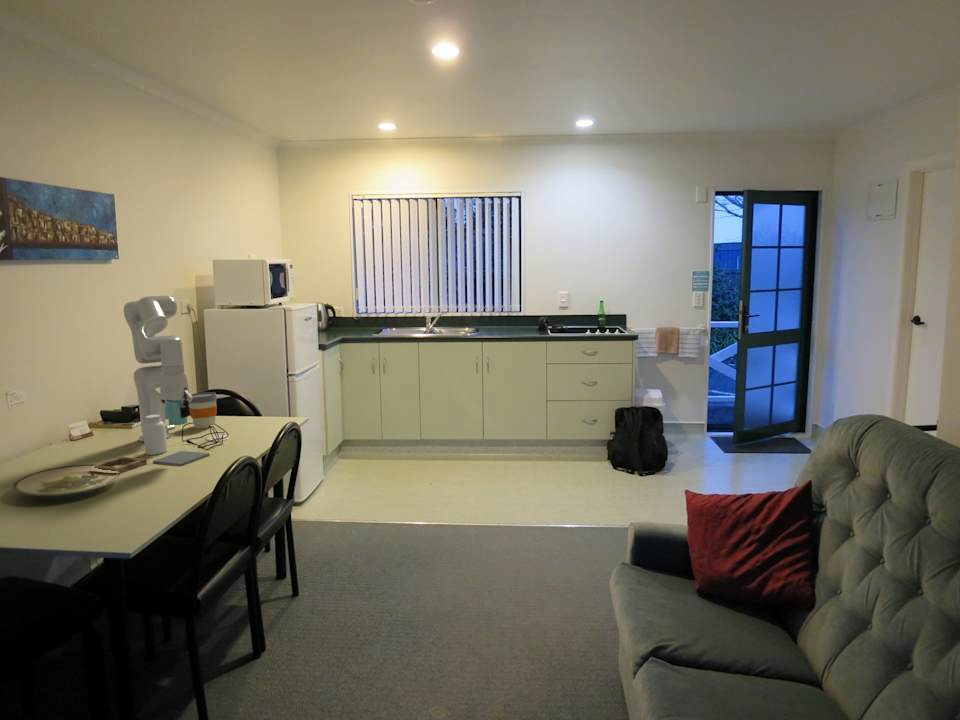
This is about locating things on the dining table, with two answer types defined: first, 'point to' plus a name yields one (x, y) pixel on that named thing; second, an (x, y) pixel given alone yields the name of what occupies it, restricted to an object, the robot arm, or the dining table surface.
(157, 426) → the pill bottle
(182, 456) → the plate
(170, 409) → the turquoise mug
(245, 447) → the dining table surface
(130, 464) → the brown square tray
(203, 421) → the reusable coffee cup
